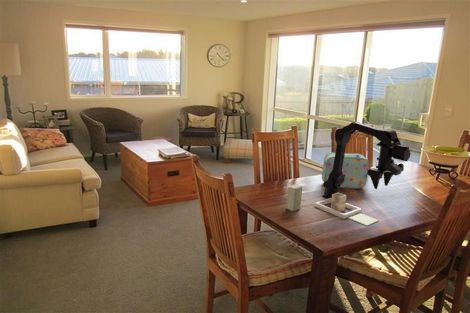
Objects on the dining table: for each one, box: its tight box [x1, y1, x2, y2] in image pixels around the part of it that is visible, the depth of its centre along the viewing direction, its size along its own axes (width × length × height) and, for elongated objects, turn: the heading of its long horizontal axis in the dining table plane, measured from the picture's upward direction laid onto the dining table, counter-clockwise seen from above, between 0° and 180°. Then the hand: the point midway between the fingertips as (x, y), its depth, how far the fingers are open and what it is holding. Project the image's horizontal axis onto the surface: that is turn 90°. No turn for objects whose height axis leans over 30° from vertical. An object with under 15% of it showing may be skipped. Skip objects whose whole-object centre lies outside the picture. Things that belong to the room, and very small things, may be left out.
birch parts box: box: [330, 192, 347, 213], centre depth 183 cm, size 5×5×8 cm
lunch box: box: [321, 152, 370, 190], centre depth 217 cm, size 27×10×21 cm, turn 89°
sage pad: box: [347, 212, 380, 227], centre depth 172 cm, size 10×10×1 cm
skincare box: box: [286, 183, 303, 212], centre depth 181 cm, size 6×4×12 cm
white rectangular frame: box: [314, 198, 363, 220], centre depth 184 cm, size 18×14×2 cm
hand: (380, 187), depth 175 cm, fingers open, 9 cm apart
